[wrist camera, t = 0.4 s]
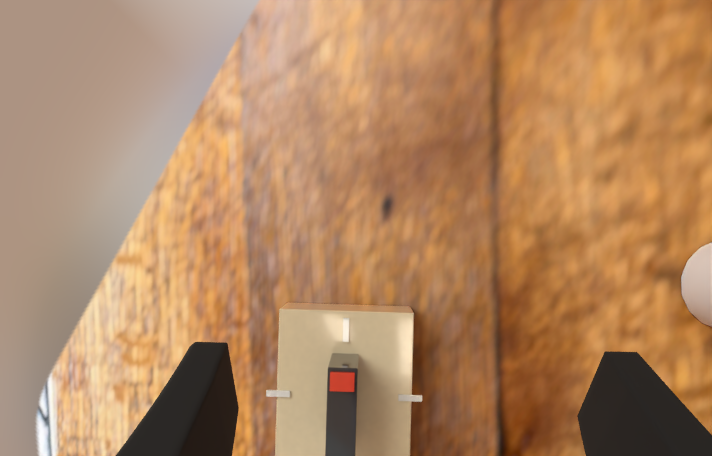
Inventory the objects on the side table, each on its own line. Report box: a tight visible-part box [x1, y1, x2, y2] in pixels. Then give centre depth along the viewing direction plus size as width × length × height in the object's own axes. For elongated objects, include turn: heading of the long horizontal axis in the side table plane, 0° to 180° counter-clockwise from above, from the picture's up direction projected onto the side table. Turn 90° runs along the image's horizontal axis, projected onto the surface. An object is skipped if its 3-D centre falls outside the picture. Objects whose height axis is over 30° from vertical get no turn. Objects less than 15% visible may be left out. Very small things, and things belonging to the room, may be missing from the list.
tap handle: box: [325, 353, 359, 456], centre depth 32 cm, size 5×2×4 cm, turn 178°
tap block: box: [266, 302, 422, 456], centre depth 35 cm, size 10×9×3 cm
